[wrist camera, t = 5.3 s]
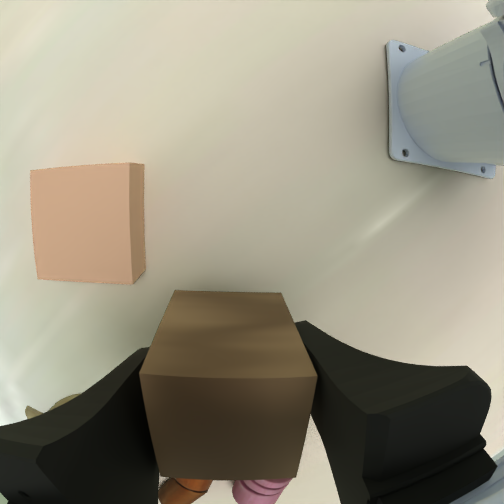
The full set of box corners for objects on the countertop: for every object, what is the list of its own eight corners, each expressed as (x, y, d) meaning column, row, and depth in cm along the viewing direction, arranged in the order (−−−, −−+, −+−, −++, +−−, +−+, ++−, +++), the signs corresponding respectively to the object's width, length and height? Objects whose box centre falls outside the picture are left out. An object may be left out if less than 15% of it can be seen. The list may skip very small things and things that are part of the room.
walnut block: (280, 292, 12) (317, 376, 7) (273, 378, 13) (296, 477, 8) (174, 290, 12) (139, 373, 6) (180, 377, 13) (160, 476, 7)
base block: (145, 164, 17) (129, 162, 14) (146, 267, 18) (133, 284, 15) (56, 169, 16) (30, 170, 14) (61, 264, 18) (37, 279, 15)
